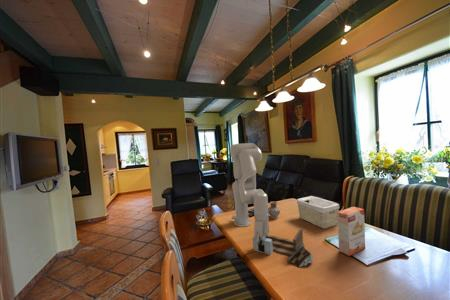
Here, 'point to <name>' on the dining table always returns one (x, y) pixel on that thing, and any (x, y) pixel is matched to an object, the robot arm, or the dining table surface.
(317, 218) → the storage basket
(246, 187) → the robot arm
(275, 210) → the pottery
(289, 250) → the track base
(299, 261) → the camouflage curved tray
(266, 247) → the door slab
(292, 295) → the dining table surface
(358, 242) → the cracker box
